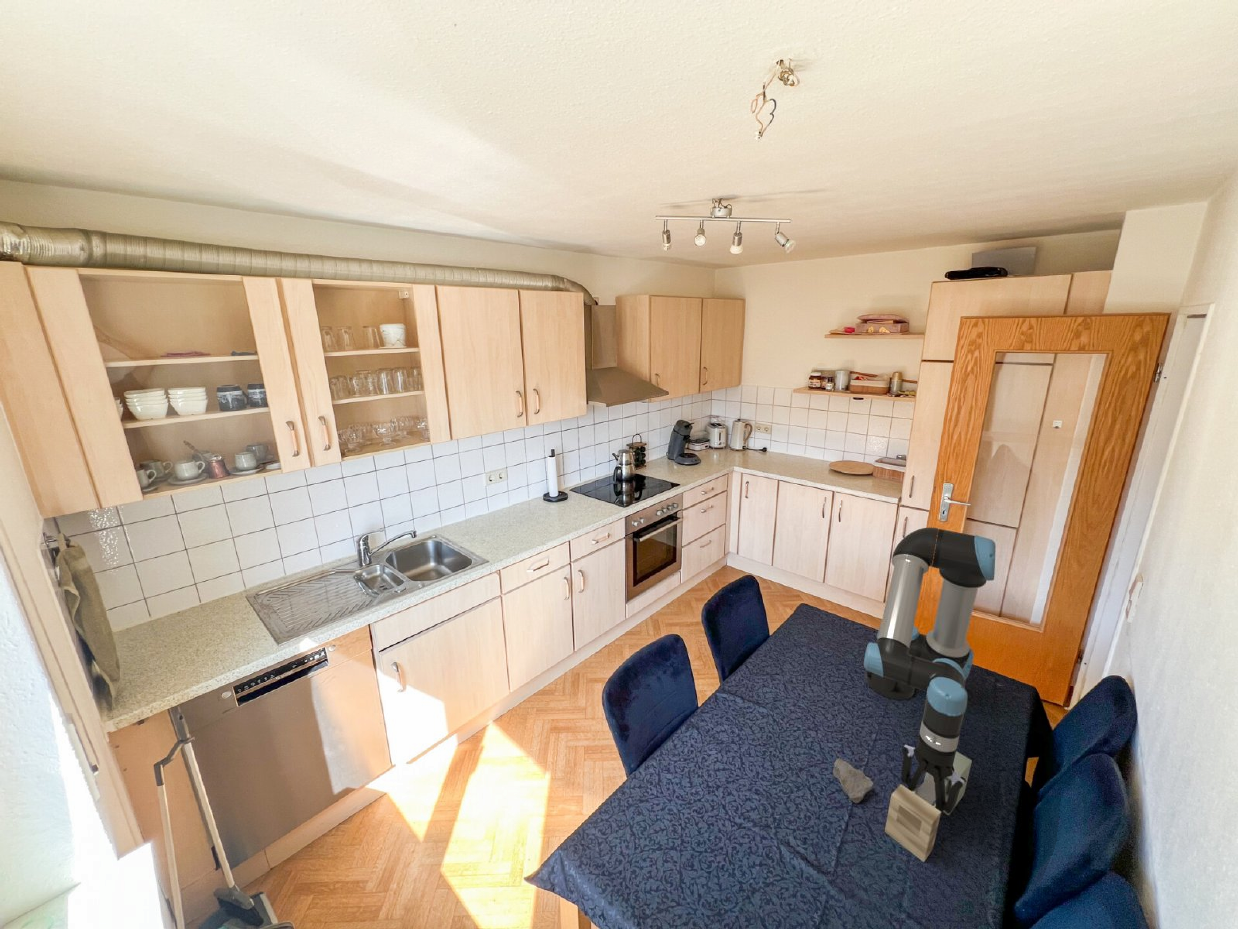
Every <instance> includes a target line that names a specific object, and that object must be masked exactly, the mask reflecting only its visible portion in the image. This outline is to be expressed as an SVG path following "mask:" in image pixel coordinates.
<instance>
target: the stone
mask: <svg viewBox="0 0 1238 929" xmlns="http://www.w3.org/2000/svg"><path fill="white" fill-rule="evenodd" d="M832 774H833V777H834V778H836V779H837V780H838V781H839V783H840V786H841V788H842V790H843V792H844V793H845V794H846V795H847V797H848V799H849V800H850V801H852V802H853V803H855V804H859V803H860V802H861V801H862V800H863V798H864V796H866V794H867V793H868V792H870V790H872V789H873V786H874V782H873V781H872V779H871V778H870V777H868V776H866V775H865V773H864V771H862V770H860V769H856V768H854V767H853V766H852V765H851V764H850V762H848V761H846V760H843V759H842V758H839V757H838V758H836V760H835V761H834V763H833V770H832Z"/></svg>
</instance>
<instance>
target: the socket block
mask: <svg viewBox="0 0 1238 929" xmlns="http://www.w3.org/2000/svg"><path fill="white" fill-rule="evenodd" d="M887 812H888V813H887V818H886V823H885V829H884V833H886V834H887V835H888V836H889V837H891V838H892V840H893V839H894V841H896V842H897V843H898V844H900V845H901V846H902V847H903V848H904V849H906V850H907V851H909V852H910V853H912V855H914V856H915V857H916V858H918V859H919V860H920V861H921V862H922V863H924V862H925V861H926V860H927V858H928V857H929V855H930V854H931V853H932V852H933V849H934V846H935V841H936V836H937V832H938V828H939V822H940V819H941V818H940V814H941V811H939V810H938V809H936V808H935V807H933V806H932V805H931V804H929V803H928V802H926V801H925V800H923V799H922V798H920V797H919V796H917V795H916V794H915V793H913V792H912V791H910V790H909V789H908V787H906V786H904V785H903V784H901V783H900V784H899V785H898V786H897V788H895V790H894V791H893V792H892V793H891V795H890V801H889V806H888V811H887Z"/></svg>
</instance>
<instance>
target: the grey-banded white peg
mask: <svg viewBox="0 0 1238 929" xmlns="http://www.w3.org/2000/svg"><path fill="white" fill-rule="evenodd" d="M951 785H952V781H951V780H950V779H948V778H947V777H945V795H946V793H947V792H948V791H949V789H950V788H951ZM918 787H919V788H918V789H917V791H916V792H915V794H916V795H917V796H919V797H920V798H922V799H923V800H925V801H926V802H928V803H929V804H931V805H933V804H934V802H935V801H936V797H935V782H934V777H933V776H932V775H931V774H930V775H929V776H928V777H927V779H926V780H925V781H924V780H923V782H922V784H920V786H918Z"/></svg>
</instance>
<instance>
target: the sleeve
mask: <svg viewBox="0 0 1238 929" xmlns="http://www.w3.org/2000/svg"><path fill="white" fill-rule="evenodd" d="M972 761H973V760H972V759H970V758H968V757H967V756H965V755H963V754H961V753H960V752H958V751H957V750H956V754H955V758H954V763H953V767H954V772H955V773H956V774H957V775H958V776H959V777H964V778H965V779H966V782H965V784H964V785H963V786H962V788H960V791H959V794H958V797H957V801H956V804H955V807H956V806H957V805H958V804H959V802H960V801H961V799H962V798H963V797H964V795H965V792H966V788H967V783H968V779H969V774H970V772H971V767H972V763H973V762H972ZM929 775H930V774H929V773H927V772H925V776H924V780H923V782H924V781H925V780H926V779H927V777H928V776H929ZM947 778H948V779H950V780H952V777H951V776H949V777H947ZM952 786H953V784H952V785H951V787H952ZM950 790H951V788H950V789H949V791H948V792H947V793H946V795H945V799H946V802H947V800H948V796H949V793H950ZM955 807H954V808H953V810H954V809H955ZM953 810H952V811H951V813H952V812H953ZM943 813H944V814H945V815H947V816H950V815H951V813H947V812H946V811H945V810H944V811H943Z"/></svg>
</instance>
